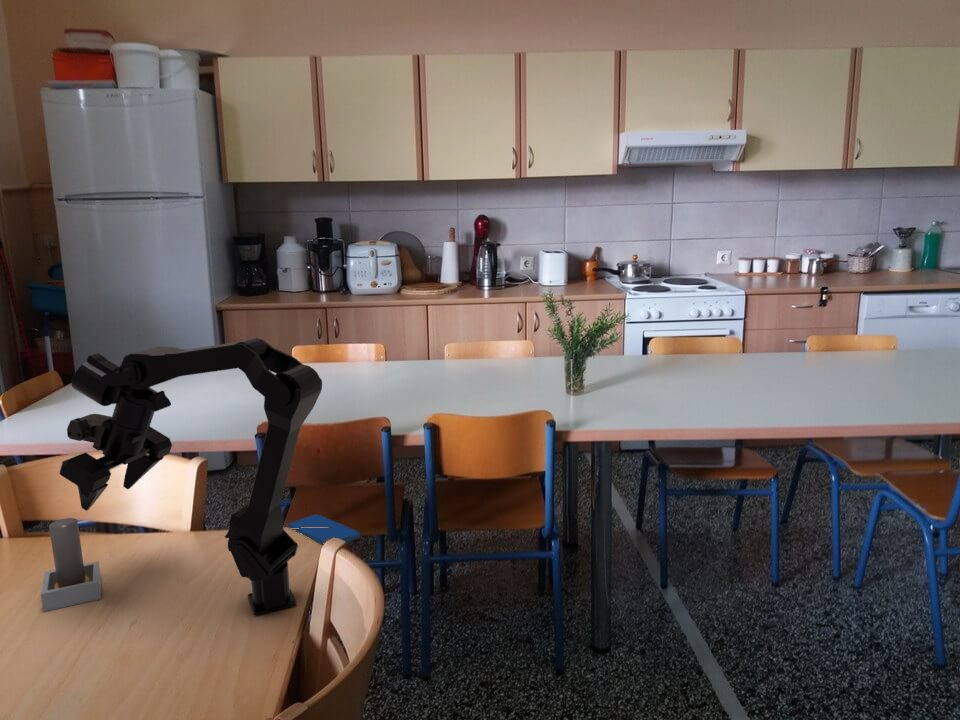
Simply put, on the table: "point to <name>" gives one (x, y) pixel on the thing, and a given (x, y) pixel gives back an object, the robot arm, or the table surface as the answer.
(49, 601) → the socket
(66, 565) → the plug
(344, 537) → the smartphone
